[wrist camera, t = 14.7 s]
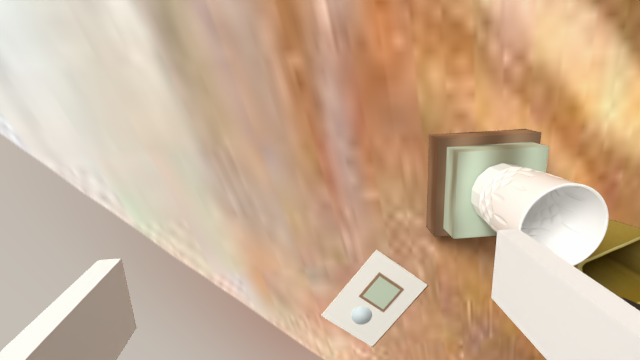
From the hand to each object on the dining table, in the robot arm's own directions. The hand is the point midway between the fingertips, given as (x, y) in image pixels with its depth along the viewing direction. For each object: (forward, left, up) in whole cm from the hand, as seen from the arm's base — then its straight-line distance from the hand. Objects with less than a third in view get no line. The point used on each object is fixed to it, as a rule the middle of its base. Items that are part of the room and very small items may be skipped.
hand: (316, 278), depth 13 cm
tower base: (-15, +17, -32) cm, 39 cm away
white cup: (-15, +16, -26) cm, 34 cm away
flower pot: (-22, +32, -32) cm, 50 cm away
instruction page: (+4, +24, -32) cm, 40 cm away
